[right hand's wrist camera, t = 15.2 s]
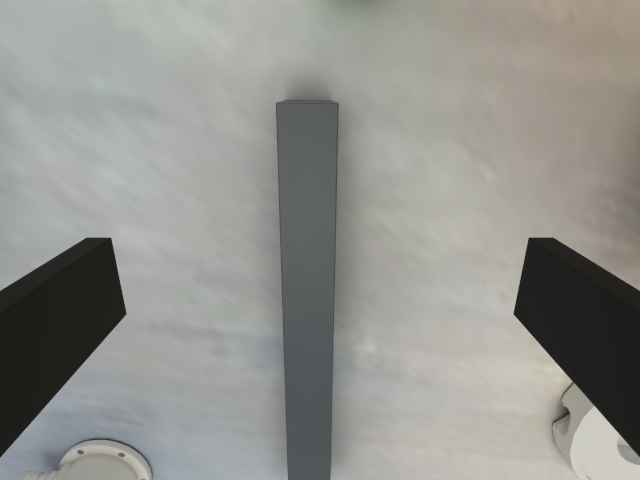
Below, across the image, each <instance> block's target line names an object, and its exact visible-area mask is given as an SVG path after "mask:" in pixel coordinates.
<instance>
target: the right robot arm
mask: <svg viewBox="0 0 640 480" xmlns="http://www.w3.org/2000/svg"><path fill="white" fill-rule="evenodd" d="M125 315H126V309H125V304H124V300H123V295H122V290H121V285H120V280H119V275H118V270H117V265H116V260H115V255H114V250H113V245H112V240H111V238H86V239H84V240H82V241H81V242H79V243H77V244H76V245H74V246H73V247H71V248H69V249H68V250H66V251H64V252H63V253H61V254H60V255H58V256H56V257H55V258H53V259H51V260H50V261H48V262H47V263H45V264H43V265H42V266H40V267H38V268H37V269H35V270H34V271H32V272H30V273H29V274H27V275H25V276H24V277H22V278H21V279H19V280H17V281H16V282H14V283H12V284H11V285H9V286H8V287H6V288H4V289H3V290H1V291H0V457H1V456H2V455H3V454H4V453H5V452H6V450H7V449H8V448H9V447H10V446H11V445H12V444H13V442H14V441H15V440H16V439H17V438H18V437H19V436H20V434H21V433H22V432H23V431H24V430H25V429H26V428H27V427H28V425H29V424H30V423H31V422H32V421H33V420H34V419H35V417H36V416H37V415H38V414H39V413H40V412H41V411H42V409H43V408H44V407H45V406H46V405H47V404H48V403H49V402H50V400H51V399H52V398H53V397H54V396H55V395H56V394H57V392H58V391H59V390H60V389H61V388H62V387H63V386H64V384H65V383H66V382H67V381H68V380H69V379H70V378H71V377H72V375H73V374H74V373H75V372H76V371H77V370H78V369H79V367H80V366H81V365H82V364H83V363H84V362H85V361H86V359H87V358H88V357H89V356H90V355H91V354H92V353H93V351H94V350H95V349H96V348H97V347H98V346H99V345H100V344H101V342H102V341H103V340H104V339H105V338H106V337H107V336H108V334H109V333H110V332H111V331H112V330H113V329H114V328H115V326H116V325H117V324H118V323H119V322H120V321H121V320H122V319H123V317H124V316H125ZM514 315H515V316H516V317H517V319H518V320H519V321H520V322H521V323H522V324H523V325H524V326H525V328H526V329H527V330H528V331H529V332H530V333H531V334H532V336H533V337H534V338H535V339H536V340H537V341H538V342H539V344H540V345H541V346H542V347H543V348H544V349H545V350H546V351H547V353H548V354H549V355H550V356H551V357H552V358H553V359H554V361H555V362H556V363H557V364H558V365H559V366H560V367H561V369H562V370H563V371H564V372H565V373H566V374H567V375H568V377H569V378H570V379H571V380H572V381H573V382H574V383H575V384H576V386H577V387H578V388H579V389H580V390H581V391H582V392H583V394H584V395H585V396H586V397H587V398H588V399H589V400H590V402H591V403H592V404H593V405H594V406H595V407H596V408H597V409H598V411H599V412H600V413H601V414H602V415H603V416H604V417H605V419H606V420H607V421H608V422H609V423H610V424H611V425H612V427H613V428H614V429H615V430H616V431H617V432H618V433H619V434H620V436H621V437H622V438H623V439H624V440H625V441H626V442H627V444H628V445H629V446H630V447H631V448H632V449H633V450H634V452H635V453H636V454H637V455H638V456H639V457H640V291H639V290H637V289H636V288H634V287H632V286H631V285H629V284H628V283H626V282H624V281H623V280H621V279H619V278H618V277H616V276H615V275H613V274H611V273H610V272H608V271H606V270H605V269H603V268H602V267H600V266H598V265H597V264H595V263H593V262H592V261H590V260H589V259H587V258H585V257H584V256H582V255H580V254H579V253H577V252H576V251H574V250H572V249H571V248H569V247H567V246H566V245H564V244H563V243H561V242H559V241H558V240H556V239H554V238H529V240H528V245H527V250H526V255H525V260H524V265H523V270H522V275H521V280H520V285H519V290H518V295H517V300H516V304H515V309H514Z"/></svg>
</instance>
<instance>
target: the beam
mask: <svg viewBox="0 0 640 480" xmlns="http://www.w3.org/2000/svg"><path fill="white" fill-rule="evenodd" d="M276 116H277V147H278V178H279V210H280V241H281V272H282V304H283V335H284V366H285V398H286V429H287V460H288V480H330V470H331V423H332V377H333V330H334V284H335V237H336V191H337V144H338V103H336V102H334V101H288V100H285V101H281V102H277V103H276Z"/></svg>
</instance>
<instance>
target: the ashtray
mask: <svg viewBox="0 0 640 480" xmlns="http://www.w3.org/2000/svg"><path fill="white" fill-rule="evenodd" d="M561 401H562V403H563V406H565V407H567V408H568V410H569V412H570V414H569V415H567V416H565V417H564V418H562V419H560V420H558V421H557V422H555V423H553V427H552V429H553V435H554V441H555V444H556V446H557V448H558V449H559V451H560V453H561V454H562V456H563V457H564V459H565V460H566V462H567V463H568V465H569V466H570V468H571V469H572V471H573V472H574V473H575V475H576V476H577V478H578V479H579V480H640V457H639V456H638V455H637V454H636V453H635V452H634V450H633V449H632V448H631V447H630V446H629V445H628V444H627V442H626V441H625V440H624V439H623V438H622V437H621V436H620V434H619V433H618V432H617V431H616V430H615V429H614V428H613V427H612V425H611V424H610V423H609V422H608V421H607V420H606V419H605V417H604V416H603V415H602V414H601V413H600V412H599V411H598V409H597V408H596V407H595V406H594V405H593V404H592V403H591V402H590V400H589V399H588V398H587V397H586V396H585V395H584V394H583V392H582V391H581V390H580V389H579V388H578V387H577V386H576V384H575V383H574V384H573V385H572V386H571V387H570V388H569V389H568V390H567V392H566V393H565V394H564V396H563V398H562V400H561Z"/></svg>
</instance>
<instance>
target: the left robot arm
mask: <svg viewBox="0 0 640 480" xmlns="http://www.w3.org/2000/svg"><path fill="white" fill-rule="evenodd" d="M23 480H152V473H151V469H150V467H149V465H148V463H147V461H146V460H145V459H144V458H143V457H142V456H141V455H140V454H139V453H138V452H137V451H135V450H134V449H132V448H130V447H128V446H126V445H124V444H121V443H118V442H114V441H109V440H91V441H85V442H82V443H79V444H77V445H75V446H74V447H72V448H71V449H70V450H69V451H68V452H67V453H66V454H65V456H64V457H63V459H62V460H61V462H60V464H59V470H54V471H52V472H51V473H44V472H31V471H29V472H28V473H27V474H26V475H25V477H24V479H23Z"/></svg>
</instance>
